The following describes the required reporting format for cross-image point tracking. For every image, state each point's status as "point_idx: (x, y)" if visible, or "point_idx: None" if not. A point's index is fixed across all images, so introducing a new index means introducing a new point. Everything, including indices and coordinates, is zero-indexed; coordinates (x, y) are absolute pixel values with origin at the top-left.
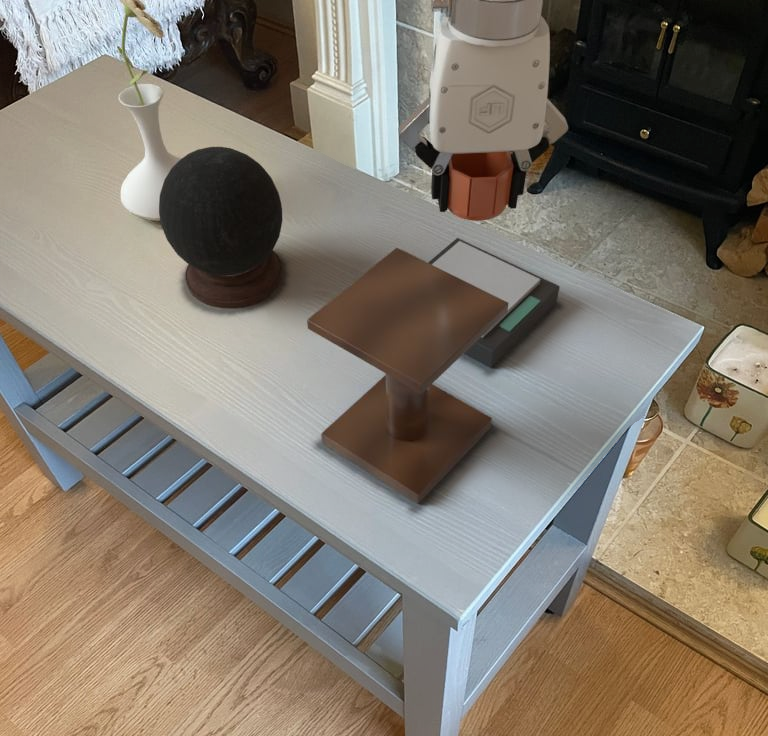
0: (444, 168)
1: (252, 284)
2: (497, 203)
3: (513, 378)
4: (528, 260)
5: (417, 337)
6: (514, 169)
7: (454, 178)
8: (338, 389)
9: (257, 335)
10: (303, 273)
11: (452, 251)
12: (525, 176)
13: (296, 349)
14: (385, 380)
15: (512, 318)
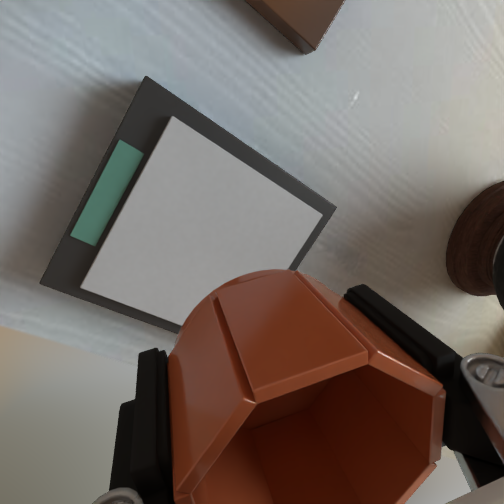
0: (472, 383)
1: (497, 210)
2: (208, 324)
3: (98, 54)
4: (119, 352)
5: None
6: (166, 483)
7: (408, 359)
8: (390, 14)
9: (482, 131)
10: (422, 259)
11: None
12: (113, 468)
13: (440, 106)
14: (334, 2)
15: (119, 176)
